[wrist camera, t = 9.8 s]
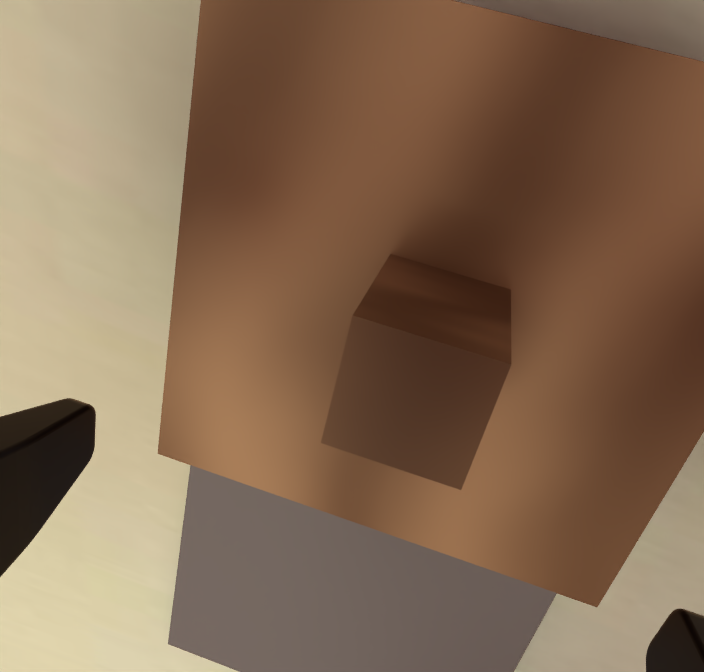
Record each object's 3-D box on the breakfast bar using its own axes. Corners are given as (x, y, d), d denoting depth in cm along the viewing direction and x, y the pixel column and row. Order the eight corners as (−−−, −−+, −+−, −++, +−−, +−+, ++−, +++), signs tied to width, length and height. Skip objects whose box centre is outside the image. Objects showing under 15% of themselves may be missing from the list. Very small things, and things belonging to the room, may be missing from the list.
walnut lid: (875, 106, 12) (1076, 132, 8) (593, 586, 18) (619, 745, 14) (222, -54, 14) (91, -106, 9) (170, 439, 20) (77, 542, 16)
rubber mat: (593, 511, 23) (595, 522, 23) (466, 746, 30) (465, 758, 30) (206, 383, 25) (200, 390, 24) (173, 634, 32) (168, 643, 32)
